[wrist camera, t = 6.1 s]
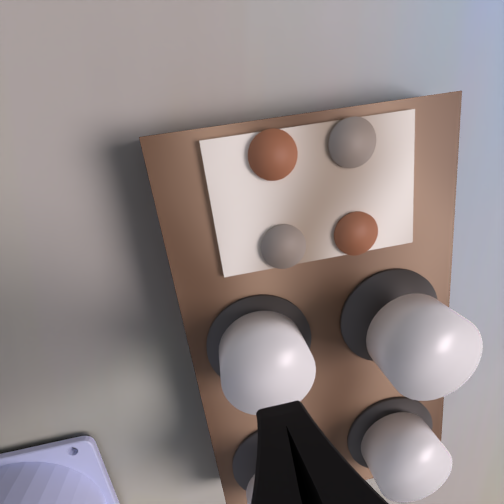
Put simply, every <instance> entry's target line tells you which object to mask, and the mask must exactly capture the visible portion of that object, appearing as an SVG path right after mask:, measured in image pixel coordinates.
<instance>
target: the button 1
mask: <svg viewBox="0 0 504 504" xmlns="http://www.w3.org/2000/svg"><path fill="white" fill-rule="evenodd" d="M219 363H220V376H221V386H222V390H223V393H224V395H225V397H226V398H227V400H228V401H229V402H230V403H231V404H232V405H233V406H234V407H235V408H237V409H239V410H240V411H242V412H245V413H248V414H251V415H256V412H257V411H258V410H259V409H262V408H267V407H271V406H276V405H280V404H284V403H289V402H293V401H297V400H298V401H301V400H302V399H303V398H304V397H305V396H306V395H307V393H308V392H309V391H310V389H311V387H312V385H313V383H314V379H315V374H316V366H315V361H314V358H313V355H312V354H311V352H310V350H309V348H308V346H307V344H306V342H305V340H304V338H303V336H302V334H301V333H300V331H299V329H298V327H297V326H296V324H295V323H294V322H293V321H292V320H291V319H290V318H288V317H287V316H285V315H283V314H280V313H278V312H274V311H256V312H252V313H248V314H246V315H244V316H242V317H240V318H238V319H237V320H235V321H234V322H233V323H232V324H231V325H230V326H229V327H228V328H227V329H226V331H225V332H224V334H223V336H222V338H221V341H220V344H219Z"/></svg>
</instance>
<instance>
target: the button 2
mask: <svg viewBox="0 0 504 504" xmlns="http://www.w3.org/2000/svg"><path fill="white" fill-rule="evenodd" d="M366 346H367V350H368V353H369V355H370V357H371V358H372V360H373V361H374V362H375V363H376V365H377V366H378V367H379V368H380V370H381V371H382V372H383V373H384V375H385V376H386V377H387V378H388V380H389V381H390V382H391V384H392V385H393V386H394V387H395V389H396V390H397V391H398V392H399V393H400V394H402V395H403V396H405V397H407V398H409V399H412V400H417V401H429V400H435V399H438V398H441V397H444V396H446V395H448V394H450V393H452V392H454V391H455V390H457V389H458V388H459V387H461V386H462V385H463V384H464V383H465V382H466V381H467V380H468V379H469V378H470V377H471V376H472V374H473V373H474V371H475V370H476V368H477V366H478V364H479V362H480V359H481V355H482V349H483V343H482V338H481V334H480V332H479V330H478V329H477V327H476V326H475V325H474V324H473V323H472V322H470V321H469V320H467V319H466V318H464V317H463V316H461V315H460V314H458V313H457V312H455V311H454V310H452V309H451V308H449V307H447V306H446V305H444V304H443V303H441V302H440V301H438V300H437V299H435V298H434V297H432V296H429V295H426V294H420V293H413V294H407V295H403V296H400V297H398V298H396V299H394V300H392V301H390V302H389V303H387V304H386V305H385V306H384V307H382V308H381V309H380V310H379V311H378V313H377V314H376V315H375V316H374V318H373V320H372V321H371V323H370V325H369V328H368V331H367V336H366Z"/></svg>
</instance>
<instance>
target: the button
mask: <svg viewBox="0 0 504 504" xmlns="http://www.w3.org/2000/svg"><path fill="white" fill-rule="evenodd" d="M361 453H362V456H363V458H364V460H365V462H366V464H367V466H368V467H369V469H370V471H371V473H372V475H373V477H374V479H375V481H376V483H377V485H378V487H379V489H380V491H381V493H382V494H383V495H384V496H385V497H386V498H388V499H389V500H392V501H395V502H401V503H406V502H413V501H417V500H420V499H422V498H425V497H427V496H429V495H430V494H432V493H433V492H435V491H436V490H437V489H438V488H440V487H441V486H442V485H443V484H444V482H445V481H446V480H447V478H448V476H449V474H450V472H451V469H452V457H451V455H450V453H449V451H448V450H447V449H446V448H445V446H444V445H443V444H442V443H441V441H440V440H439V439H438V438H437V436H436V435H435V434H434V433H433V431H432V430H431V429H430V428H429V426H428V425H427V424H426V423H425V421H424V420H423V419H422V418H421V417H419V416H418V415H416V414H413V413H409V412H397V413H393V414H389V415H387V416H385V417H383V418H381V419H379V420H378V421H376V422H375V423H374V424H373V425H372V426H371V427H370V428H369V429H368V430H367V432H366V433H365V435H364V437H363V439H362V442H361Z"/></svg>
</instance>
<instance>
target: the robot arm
mask: <svg viewBox="0 0 504 504" xmlns="http://www.w3.org/2000/svg"><path fill="white" fill-rule="evenodd" d="M256 417H257V427H258V443H257V459H256V470H255V480H254V487H253V494H252V500H251V504H388V503H387V502H386V501H385V500H384V499H383V498H382V497H381V496H380V495H379V494H378V493H377V492H376V491H375V490H374V489H373V488H372V487H371V486H370V485H369V484H368V483H367V482H366V481H365V480H364V479H363V478H362V477H361V476H360V475H359V473H358V472H357V471H356V470H355V469H354V468H353V467H352V466H351V465H350V464H349V463H348V461H347V460H346V459H345V458H344V457H343V456H342V455H341V453H340V452H339V451H338V450H337V449H336V448H335V446H334V445H333V444H332V443H331V442H330V440H329V439H328V438H327V437H326V436H325V434H324V433H323V432H322V430H321V429H320V428H319V427H318V425H317V424H316V423H315V421H314V420H313V419H312V417H311V416H310V414H309V413H308V411H307V410H306V408H305V407H304V405H303V404H302V402H300V401H298V400H297V401H293V402H289V403H284V404H280V405H276V406H271V407H267V408H262V409H259V410H258V411H257V412H256ZM72 447H74V448H77V449H74V448H72ZM0 504H120V503H119V501H118V498H117V496H116V493H115V491H114V488H113V485H112V483H111V480H110V478H109V475H108V473H107V470H106V467H105V465H104V462H103V460H102V457H101V455H100V452H99V449H98V447H97V444H96V442H95V440H94V439H93V438H92V437H90V436H79V437H75V438H70V439H66V440H61V441H57V442H52V443H48V444H43V445H39V446H34V447H30V448H25V449H21V450H16V451H12V452H7V453H2V454H0Z"/></svg>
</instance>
